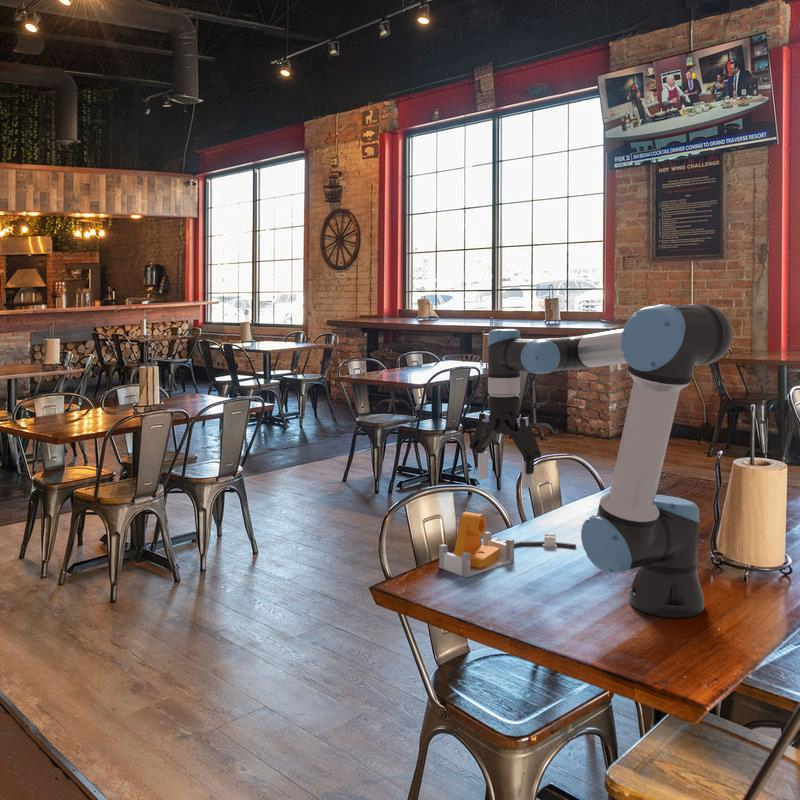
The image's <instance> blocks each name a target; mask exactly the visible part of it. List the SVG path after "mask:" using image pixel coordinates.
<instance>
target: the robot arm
mask: <svg viewBox="0 0 800 800" xmlns="http://www.w3.org/2000/svg"><path fill="white" fill-rule="evenodd" d="M733 333H734V330H733V326H732V322H731V321H730V319H729V318H728V316H727V315H726V313H725V312H723V311H722V310H721V309H719V308H718V307H716V306H713V305H709V304H705V303H694V304H691V303H690V304H665V303H662V304H656V305H652V306H646V307H643V308H641V309H639V310H637V311H636V312H634V313H633V314H632V315H631V316H630V317H629V318H628V319H627V321H626V323H625V324H624V327H623V328H620V329H616V330H615V329H613V330H608V331H602V332H596V333H595V332H594V333H590V334H583V335H576V336H570V337H569V336H567V337H554V338H553V337H552V338H551V337H550V338H549V337H548V338H521V332H520V329H519V330H518V329H514V328H503V329H502V328H501V329H500V328H499V329H498V328H497V329H491V330H489V332H488V334H487V347H486V348H487V393H488V394H489V396H487V410H488V411H489V412H488V411H486V412H485V411H484V412H481V413H479V414H478V422H477V424H476V425H477V426H476V428H475V430H474V431H473V432H474V433H473V435H472V438H471V441H470V443H469V449H470V450H474V452H475V459H476V460H475V464H476V466H477V480H478V481H480V480H481V481H482V480H486V479H488V478H489V476H488V474H489V473H488V471H489V469H488V468H489V467H488V464H489V463H488V461H489V459H488V457H489V456H488V451H487V448H488V446H489V445H491V443H492V441H493V439H495V436H496V435H497V434H499V435H500V434H501V435H505V436H508V437H509V438H511V439H512V441H513V442H514V444H515V446H516V448H517V449H518V451H519V452H520V454H521V456H522V457H523V459H522V460H521V489H528V488H531V487H532V484H533V481H532V477H533V476H532V475H533V474H534V473H535V472H534V471H535V460H536V459H541V458H542V453H541V450H540V447H539V444H538V442H537V439H536V437H535V434H534V432H533V429H532V426H531V418H530V417H529V416H526V417H520V416H519V412H520V410H521V396H520V395H519V394H520V393H521V372H523V373H530V374H535V375H539V374H540V375H541V374H542V375H543V374H544V375H546V374H551V373H552V372H557V371H558V372H559V371H568V370H569V371H570V370H587V369H590V368H597V367H604V366H605V367H606V366H607V367H608V366H613V365H623V364H624V365H625V364H627V365H628V367H627V372H628V374H629V376H630V377H631V379H632V380H633V383H632V387H631V391H630V397H629V401H628V402H629V403H628V407H627V411H626V415H625V421H624V424H623V425H624V426H623V429H622V435H621V438H620V444H619V448H618V452H617V457H616V461H615V467H614V470H613V476H612V480H611V484H610V490H609V492H608V493H606V494H604V495H603V496H601V498H600V500H599V503H598V509H597V513H596V515H591V516H590V517H588V518H586V519H585V521H584V522H583V524H582V526H581V530H580V538H581V539H580V540H581V545H582V546H583V548H582V549H583V550H584V551H585V553H586V556H587V558H588V560H589V561H590V562H591V563H592V565H594V566H595V567H596V568H597V569H599V570H600V571H601V572H604V573H608V574H614V573H625V572H627V571H629V570H632V569H636V568H637V571H636V574H635V575H634V578H633V581H632V583H631V586H630V587H629V596H628V597H629V599H628V600H629V603H630V605H631V606H632V607H633V608H635V609H636V610H638V611H641V612H642V613H645V614H649V615H652V616H656V617H663V618H671V619H672V618H673V619H678V618H679V619H682V618H683V619H684V618H690V617H695V616H698V615H700V614H701V613H703V611H704V610H705V596H704V592H703V589H702V586H701V583H700V579H699V575H698V556H699V555H698V554H699V535H700V524H701V521H700V508H699V507H698V505H697V504H696V503H695V502H693V501H690V500H688V499H685V498H681V497H676V496H670V495H663V494H657V491H658V486H659V482H660V479H661V474H662V469H663V465H664V460H665V457H666V452H667V449H668V448H667V447H668V444H669V439H670V435H671V432H672V428H673V422H674V419H675V414H676V409H677V406H678V401H679V397H680V392H681V390H682V389H684V388H686V387H687V386H689V385H691V383H692V379H693V375H694V371H695V368H696V366H697V367H698V366H705V365H709V364H712V363H715V362H716V361H719V359H721V358H723V356H724V355H726V353H727V352H728V351H729V349H730V347H731V345H732V342H733V337H734V334H733ZM489 423H490V425H489ZM488 425H489V426H488Z"/></svg>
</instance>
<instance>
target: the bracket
mask: <svg viewBox="0 0 800 800" xmlns="http://www.w3.org/2000/svg"><path fill="white" fill-rule="evenodd" d="M486 529H487V517H486V515H485V514H483V513H474V512H470V511H464V512H462V514H461V515H460V519H459V521H458V528H457V534H456V540H455V547H454V551H453V554H455V555H458V556H461V557H462V553H463V552H469V553H470V566H473V567H478V568H481V567H482V568H487V567H489V566H490V565H491V564H493V563H494V562H496V558H497V557H499V548H498V547H493V546H487V545H483V544H482V543H483V542H482V539H481V537H483V534H484V532H486Z"/></svg>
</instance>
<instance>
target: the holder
mask: <svg viewBox="0 0 800 800" xmlns="http://www.w3.org/2000/svg"><path fill="white" fill-rule="evenodd" d="M482 539H483V542H482V543H483V544H482V545H487V546H493V547H498V548H499V557H497V558H496V562H494V563H493V564H491V565H490V566H489V567H487V568H482V567H481V568H478V567H473V566H470V553H469V552H463V553H462V557H461V556H458V555H455V554H454V553H452V552H449V551H448V548H449V547H448V545H447V544H444V543H443V544H438V545H439V546H438V549H439V550H438V555H439V557H438V559H439V561H438V563H439V564H438V567H439V568H440V569H442V570H445V571H447V572H450V573H454V574H455V575H458V576H460V577H463V578H468V577H472V576H476V575H478V574H481V573H484V572H486V571H490V570H493V569H496V568H499V567H502V566H503V567H504V566H505V565H509V564H511V563H514V562H515V547H514V542H515V538H514V539H513V538H507V539H505V540H506V543H503V542H501V541H500V540H499V541H496V540H493V539H494V538H492V531H491V532H490V531H485V532H484V534H483V536H482Z"/></svg>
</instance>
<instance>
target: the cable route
mask: <svg viewBox="0 0 800 800" xmlns="http://www.w3.org/2000/svg"><path fill="white" fill-rule="evenodd" d="M556 534H557V533H550V532H544V537H543V538H544V540H542V541H541V540H540V541H539V540H537V541H536V540H533V541H532V540H528V541H526V540H525V541H524V540H523V541H522V540H521V541H514V548H517V547H528V546H529V547H531V546H532V547H533V546H534V547H535V546H537V547H539V546H542V547H543V548H558V547H559V548H568V549H577V544H576V543H568V542H562V541H557V540H556V538H557V537H556V536H557V535H556ZM492 539H493V540H496V541H500V537H495V538H492ZM500 542H503V543H506V539H505V540H502V541H500Z"/></svg>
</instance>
